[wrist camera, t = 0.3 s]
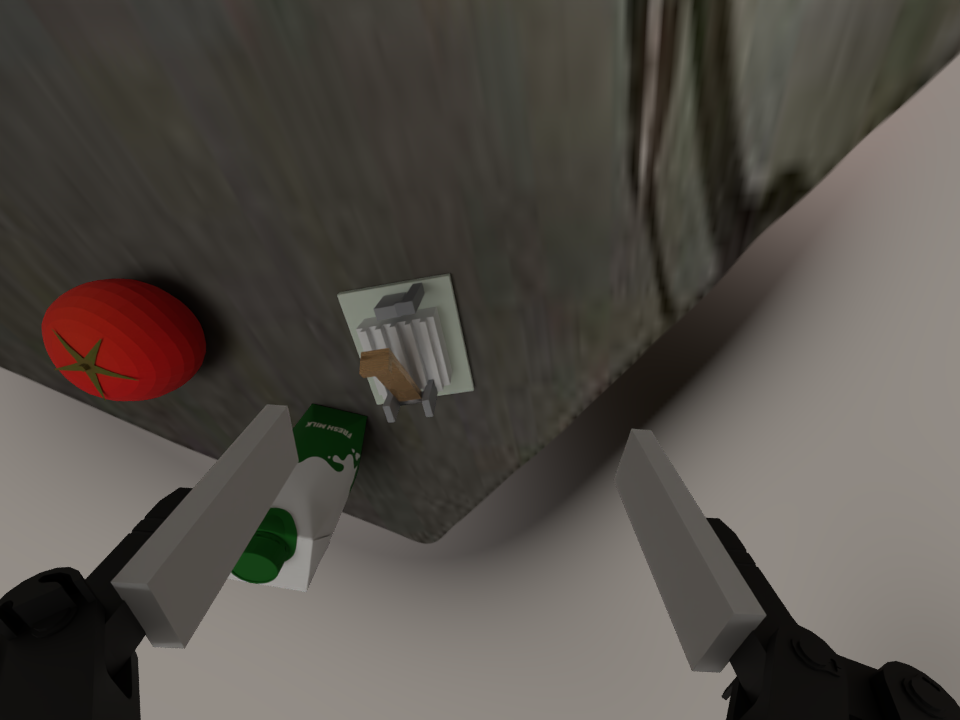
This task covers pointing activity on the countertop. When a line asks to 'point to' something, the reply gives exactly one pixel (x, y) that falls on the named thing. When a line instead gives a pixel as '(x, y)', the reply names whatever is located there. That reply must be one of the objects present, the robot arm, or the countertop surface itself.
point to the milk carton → (306, 502)
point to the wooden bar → (390, 375)
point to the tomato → (123, 339)
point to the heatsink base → (412, 336)
